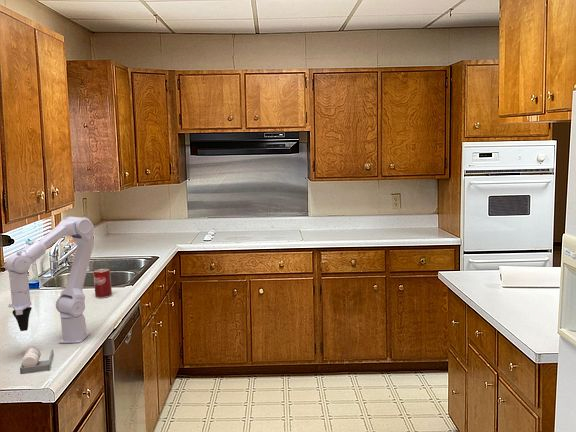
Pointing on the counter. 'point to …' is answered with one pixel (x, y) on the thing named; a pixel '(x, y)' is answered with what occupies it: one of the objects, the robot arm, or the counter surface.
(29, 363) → the pill bottle
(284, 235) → the counter surface
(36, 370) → the tray
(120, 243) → the counter surface
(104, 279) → the soda can
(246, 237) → the counter surface
